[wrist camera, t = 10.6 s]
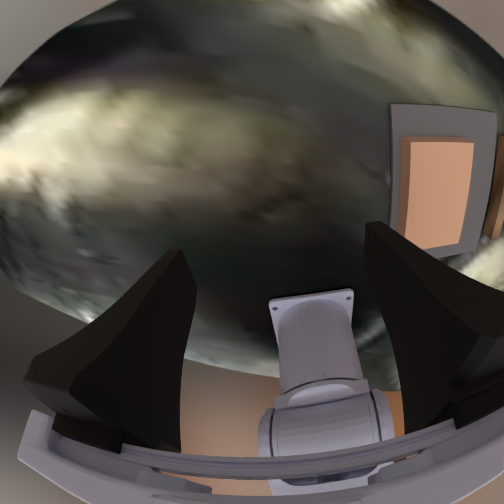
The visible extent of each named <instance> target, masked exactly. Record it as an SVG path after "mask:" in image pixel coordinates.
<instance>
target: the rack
mask: <svg viewBox="0 0 504 504" xmlns="http://www.w3.org/2000/svg"><path fill="white" fill-rule="evenodd" d="M503 220H504V135H498V142H497V154H496V163H495V171H494V178H493V185H492V191H491V196H490V201H489V206H488V211H487V216H486V220H485V224H484V228H483V232H484V233H485V234H486V235H487V236H488V237H489V238H490V239H491V240H494V239H498V238H499V235H500V231H501V227H502V224H503ZM502 228H503V229H504V224H503V227H502Z"/></svg>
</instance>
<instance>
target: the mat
mask: <svg viewBox="0 0 504 504" xmlns="http://www.w3.org/2000/svg"><path fill="white" fill-rule="evenodd" d="M388 104H389V118H390V141H391V186H390V209H389V224H388V226H389V227H391V228H392V229H393V230H395V231H396V232H397V226H398V215H399V202H400V184H401V137H412V136H436V137H463V138H465V139H467V140H469V141H471V142H473V143H474V149H473V161H472V171H471V179H470V186H469V193H468V199H467V205H466V211H465V216H464V221H463V225H462V230H461V234H460V239H459V243H456V244H451V245H445V246H439V247H434V248H428V249H422V250H424V251H425V252H427V253H428V254H430V255H431V256H433V257H434V258H440V257H445V256H451V255H456V254H461V253H466V252H471V251H475V250H476V248H477V244H478V241H479V237H480V233H481V229H482V225H483V221H484V217H485V212H486V208H487V203H488V198H489V192H490V186H491V180H492V173H493V165H494V156H495V145H496V129H497V113H495V112H490V111H484V110H477V109H470V108H462V107H452V106H441V105H427V104H401V103H388Z"/></svg>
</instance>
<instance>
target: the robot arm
mask: <svg viewBox="0 0 504 504" xmlns="http://www.w3.org/2000/svg"><path fill="white" fill-rule="evenodd" d="M364 268H365V272H366V275H367V279H368V282H369V285H370V288H371V291H372V293H373V295H374V298H375V300H376V303H377V305H378V307H379V310H380V312H381V315H382V317H383V320H384V322H385V325H386V327H387V330H388V333H389V336H390V339H391V342H392V346H393V351H394V355H395V359H396V364H397V369H398V374H399V380H400V386H401V393H402V402H403V412H404V429H405V435H403V436H399V437H395V438H394V426H393V420H392V414H391V409H390V406H389V402H388V400H387V397H386V395H385V394H384V393H383V392H381V391H379V389H377V388H374V389H370V391H369V386H368V381H367V379H363V374H362V370H361V365H360V361H359V357H358V352H357V348H356V344H355V340H354V336H353V332H352V328H351V320H352V310H353V298H354V292H353V290H352V289H351V288H348V289H341V290H335V291H328V292H321V293H315V294H307V295H300V296H293V297H285V298H277V299H272V300H270V301H269V308H270V312H271V317H272V321H273V326H274V330H275V334H276V339H277V343H278V348H279V368H280V395H279V396H275V407H273V408H268V409H267V410H266V412H265V413H264V415H263V416H262V417H261V419H260V422H259V428H258V450H259V456H260V457H217V456H203V455H192V454H181V440H180V389H181V375H182V365H183V359H184V353H185V349H186V345H187V340H188V336H189V332H190V328H191V324H192V319H193V315H194V310H195V304H196V293H197V286H196V283H195V281H194V278H193V276H192V274H191V271H190V269H189V266H188V264H187V261H186V259H185V256H184V254H183V251H182V249H178V250H172V251H167V252H166V253H165V254H164V255H163V256H162V257H161V258H160V259H159V260H158V261H157V262H156V263H155V264H154V265H153V266H152V267H151V268H150V269H149V270H148V271H147V272H146V273H145V274H144V275H143V276H142V277H141V278H140V279H139V280H138V281H137V282H136V283H135V284H134V285H133V286H132V287H131V288H130V289H129V290H128V291H127V292H126V293H125V294H124V295H123V296H122V297H121V298H120V299H119V300H118V301H117V302H115V303H114V304H113V305H112V306H111V307H110V308H109V309H107V310H106V311H105V312H104V313H103V314H101V315H100V316H99V317H98V318H96V319H95V320H94V321H92V322H91V323H90V324H88V325H87V326H86V327H84V328H83V329H82V330H80V331H79V332H77V333H76V334H74V335H73V336H71V337H70V338H68V339H66V340H65V341H63V342H62V343H60V344H58V345H56V346H54V347H52V348H50V349H48V350H47V351H45V352H43V353H41V354H39V355H37V356H35V357H34V358H33V360H32V362H31V364H30V366H29V368H28V370H27V373H26V375H25V377H24V379H23V383H24V386H25V387H26V389H27V390H28V391H29V392H30V393H31V394H33V395H34V396H35V397H36V398H37V399H39V400H40V401H41V402H43V403H44V404H45V405H46V406H48V407H49V408H50V409H52V410H53V411H54V412H56V417H55V419H54V418H52V417H50V416H48V415H46V414H43V413H41V412H38V411H36V410H32V411H31V414H30V417H29V419H28V422H27V425H26V429H25V431H24V434H23V438H22V441H21V444H20V448H19V451H18V455H17V458H18V459H19V460H20V461H22V462H23V463H25V464H26V465H28V466H29V467H31V468H32V469H34V470H35V471H37V472H38V473H40V474H41V475H43V476H44V477H46V478H47V479H49V480H50V481H52V482H53V483H55V484H56V485H58V486H59V487H61V488H62V489H64V490H65V491H67V492H69V493H70V494H72V495H74V496H75V497H77V498H79V499H81V500H83V501H85V502H86V503H88V504H454V503H456V502H458V501H460V500H461V499H463V498H465V497H467V496H468V495H470V494H472V493H473V492H475V491H477V490H478V489H480V488H481V487H483V486H485V485H486V484H488V483H489V482H491V481H492V480H493V479H495V478H496V477H498V476H499V475H501V474H502V473H503V472H504V292H502V291H500V290H497V289H494V288H492V287H489V286H487V285H485V284H482V283H480V282H478V281H476V280H474V279H472V278H470V277H468V276H466V275H464V274H462V273H460V272H458V271H456V270H455V269H453V268H451V267H449V266H447V265H446V264H444V263H442V262H441V261H439V260H437V259H436V258H434V257H433V256H431V255H430V254H428V253H427V252H425V251H424V250H422V249H421V248H419V247H418V246H416V245H415V244H413V243H412V242H410V241H409V240H408V239H406V238H405V237H403V236H402V235H401V234H399V233H398V232H396V231H395V230H393V229H392V228H391V227H389V226H388V225H386V224H384V223H383V222H381V221H377V222H369V223H366V230H365V251H364ZM347 297H348V298H347ZM274 307H276V308H274ZM415 454H417V455H415ZM412 455H415V456H412ZM409 456H412V457H410V458H408V459H405V460H402V461H399V462H396V463H393V461H396V460H399V459H403V458H406V457H409ZM160 471H163V472H168V473H174V474H181V475H189V476H197V477H206V478H218V479H236V480H268V485H269V488H270V489H271V492H272V494H273V495H274V496H236V495H235V496H234V495H219V494H211V493H212V488H211V487H210V486H206V485H201V484H198V483H194V482H191V481H189V480H187V479H185V478H180V477H175V476H171V475H166V474H162V473H161V472H160Z"/></svg>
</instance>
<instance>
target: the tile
mask: <svg viewBox="0 0 504 504" xmlns="http://www.w3.org/2000/svg"><path fill="white" fill-rule="evenodd" d="M473 149H474V143H473V142H471V141H469V140H467V139H465V138H463V137H436V136H412V137H401V184H400V202H399V215H398V226H397V232H398V233H399V234H401V235H402V236H403V237H405V238H406V239H408V240H409V241H410V242H412V243H413V244H415V245H416V246H418V247H419V248H421V249H428V248H434V247H439V246H445V245H451V244H456V243H459V239H460V234H461V230H462V225H463V221H464V216H465V211H466V205H467V199H468V193H469V186H470V179H471V171H472V161H473Z"/></svg>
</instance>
